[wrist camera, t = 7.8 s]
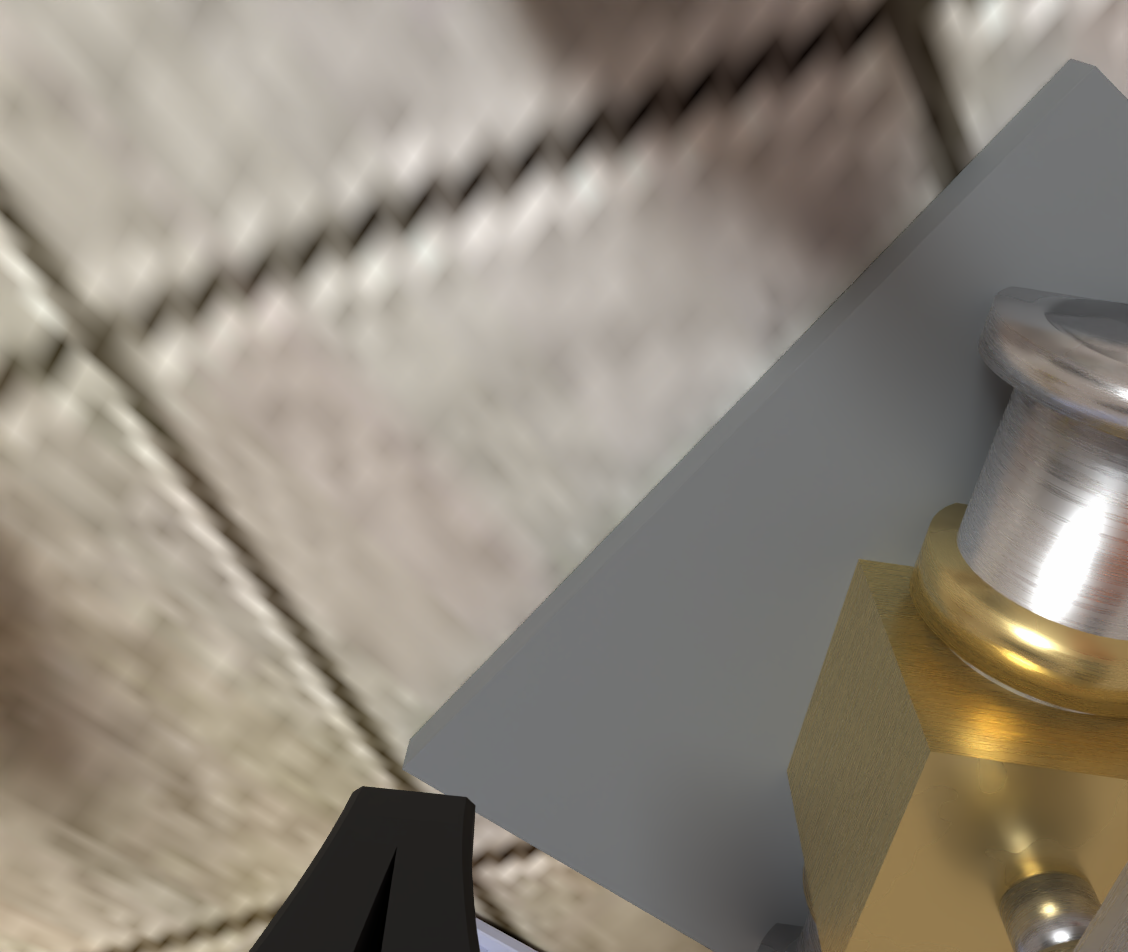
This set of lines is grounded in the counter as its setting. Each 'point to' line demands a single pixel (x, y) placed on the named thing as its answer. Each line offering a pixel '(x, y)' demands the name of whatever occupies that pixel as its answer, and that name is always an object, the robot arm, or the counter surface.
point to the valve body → (985, 679)
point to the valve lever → (1104, 924)
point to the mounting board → (777, 549)
